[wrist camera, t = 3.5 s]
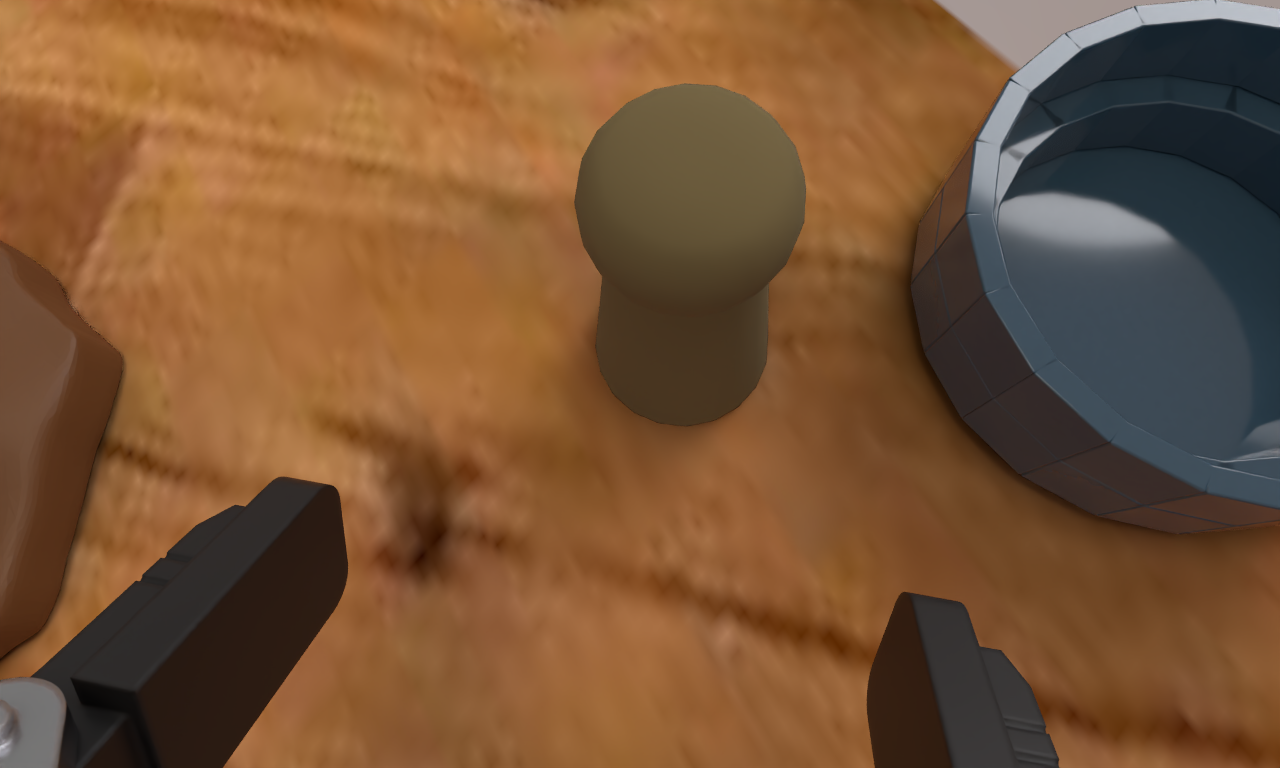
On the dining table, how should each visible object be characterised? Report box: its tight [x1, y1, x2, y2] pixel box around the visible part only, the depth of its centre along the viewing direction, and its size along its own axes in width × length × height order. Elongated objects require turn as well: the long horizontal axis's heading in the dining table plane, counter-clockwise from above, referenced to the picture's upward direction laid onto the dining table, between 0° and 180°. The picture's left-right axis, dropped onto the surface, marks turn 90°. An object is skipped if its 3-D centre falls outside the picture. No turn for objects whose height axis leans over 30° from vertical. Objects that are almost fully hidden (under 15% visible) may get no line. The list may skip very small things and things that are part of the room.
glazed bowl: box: [911, 0, 1280, 534], centre depth 23 cm, size 16×16×6 cm
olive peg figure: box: [574, 84, 806, 426], centre depth 20 cm, size 6×6×11 cm
